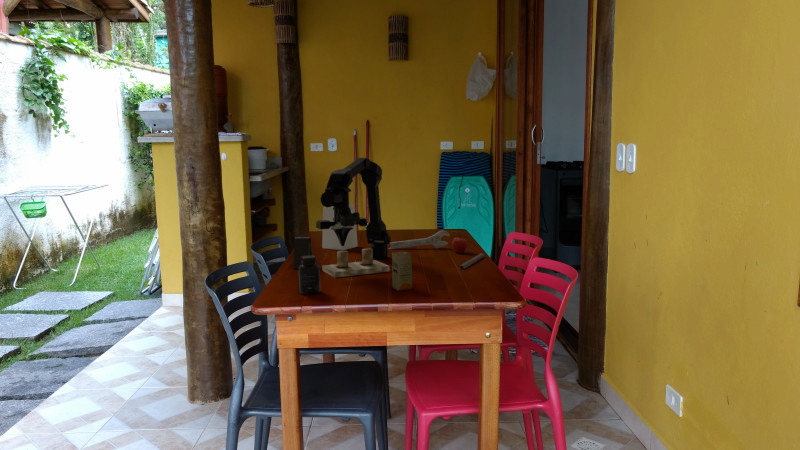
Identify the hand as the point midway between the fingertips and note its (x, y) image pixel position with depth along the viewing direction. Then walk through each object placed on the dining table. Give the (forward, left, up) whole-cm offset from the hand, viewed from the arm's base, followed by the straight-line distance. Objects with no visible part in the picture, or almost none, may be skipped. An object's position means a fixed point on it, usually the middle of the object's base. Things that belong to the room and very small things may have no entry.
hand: (342, 246), depth 234 cm
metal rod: (-52, +9, -11) cm, 54 cm away
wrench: (-49, -32, -11) cm, 59 cm away
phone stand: (+10, -18, -10) cm, 23 cm away
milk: (-19, -54, -10) cm, 58 cm away
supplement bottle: (+21, +24, -10) cm, 33 cm away
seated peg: (-10, 0, -10) cm, 14 cm away
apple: (-59, -13, -10) cm, 61 cm away
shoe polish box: (-8, +34, -10) cm, 36 cm away
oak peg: (0, 0, -10) cm, 10 cm away
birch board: (-5, 0, -10) cm, 11 cm away
